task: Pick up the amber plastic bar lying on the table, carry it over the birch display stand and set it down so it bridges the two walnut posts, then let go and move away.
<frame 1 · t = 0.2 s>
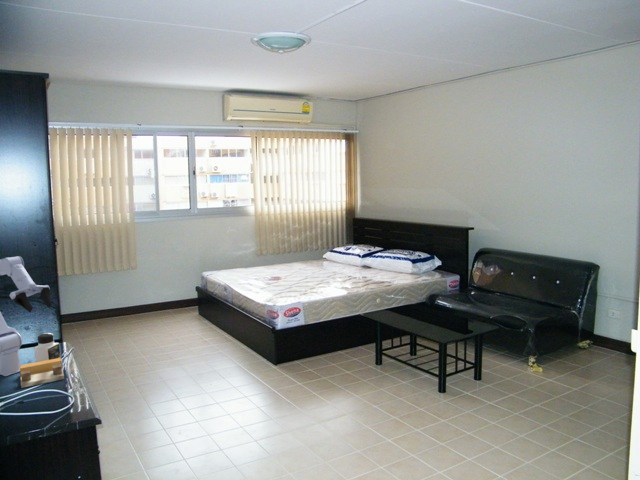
hand: (40, 308, 198), 31 cm above the table, tool tilted 45°, fingers open, 7 cm apart
display stand: (42, 379, 207), on the table
amber bar: (41, 373, 214), on the table
medicine bottle: (48, 361, 228), on the table
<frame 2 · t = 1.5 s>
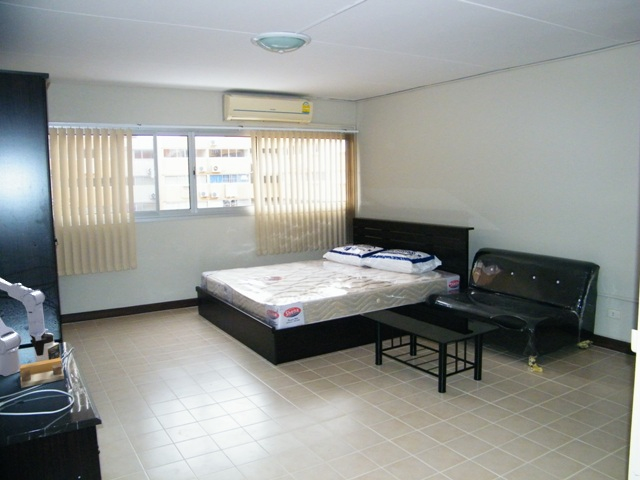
hand: (39, 352, 213), 9 cm above the table, tool pointing down, fingers open, 7 cm apart
nothing on the table moved.
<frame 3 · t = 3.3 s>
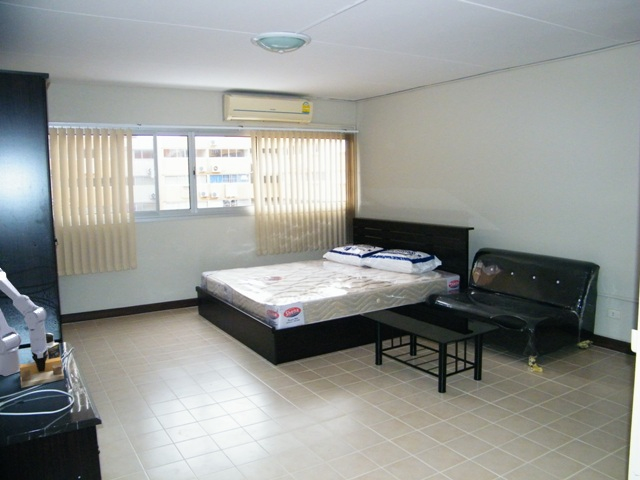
hand: (41, 369, 214), 1 cm above the table, tool pointing down, fingers closed on amber bar, 4 cm apart
amber bar: (41, 372, 214), on the table, touching gripper
everything else where it was.
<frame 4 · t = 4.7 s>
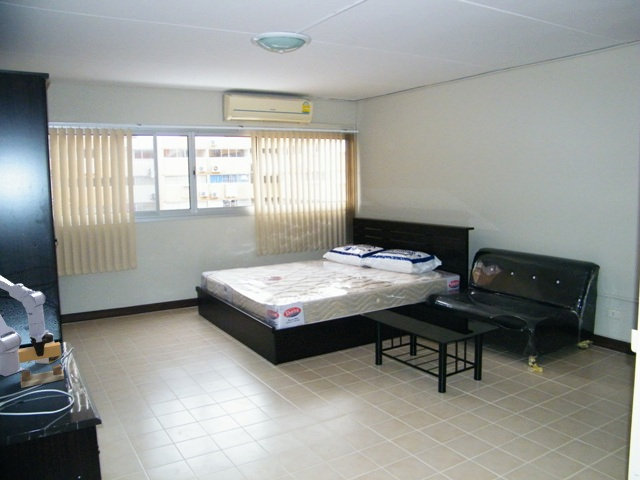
hand: (40, 354, 212), 8 cm above the table, tool pointing down, fingers closed on amber bar, 4 cm apart
amber bar: (40, 357, 212), point 7 cm above the table, touching gripper
everything else where it was.
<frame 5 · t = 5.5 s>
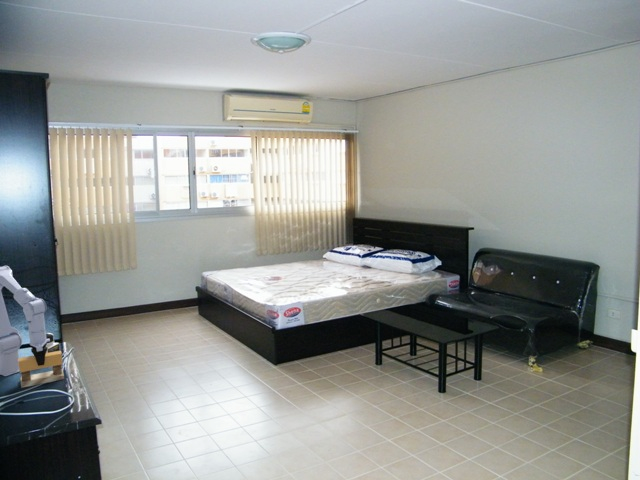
hand: (40, 363, 206), 7 cm above the table, tool pointing down, fingers closed on amber bar, 4 cm apart
amber bar: (41, 366, 206), point 5 cm above the table, touching gripper
everything else where it was.
when the fingers open (7 cm above the table, at t = 6.3 s): amber bar stays where it is, resting on display stand.
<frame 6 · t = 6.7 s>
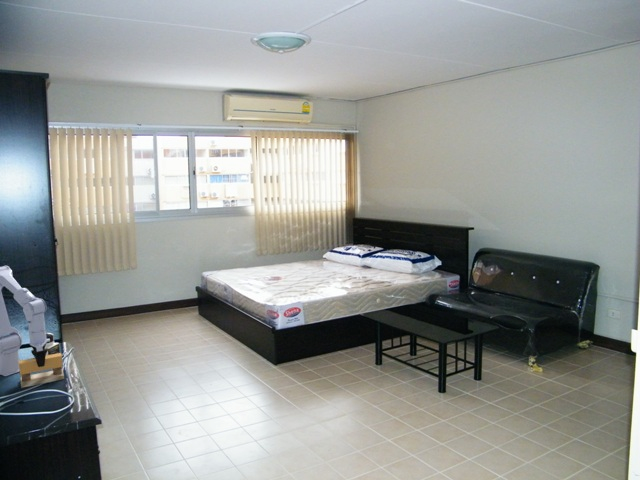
hand: (40, 363, 206), 7 cm above the table, tool pointing down, fingers open, 7 cm apart
amber bar: (41, 369, 206), point 4 cm above the table, touching display stand
everything else where it was.
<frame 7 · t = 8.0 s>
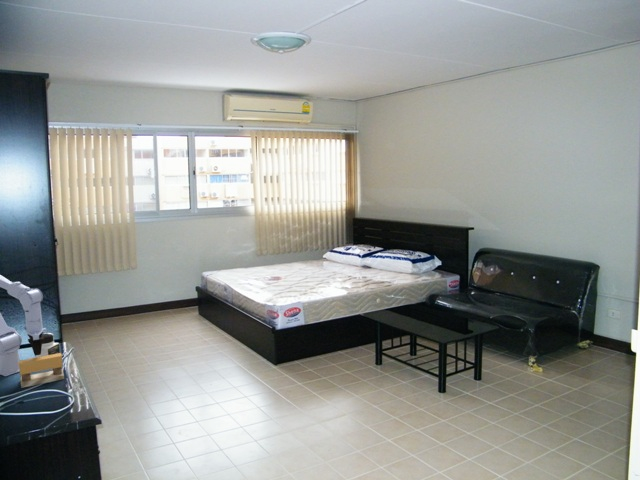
hand: (37, 352, 210), 10 cm above the table, tool pointing down, fingers open, 7 cm apart
nothing on the table moved.
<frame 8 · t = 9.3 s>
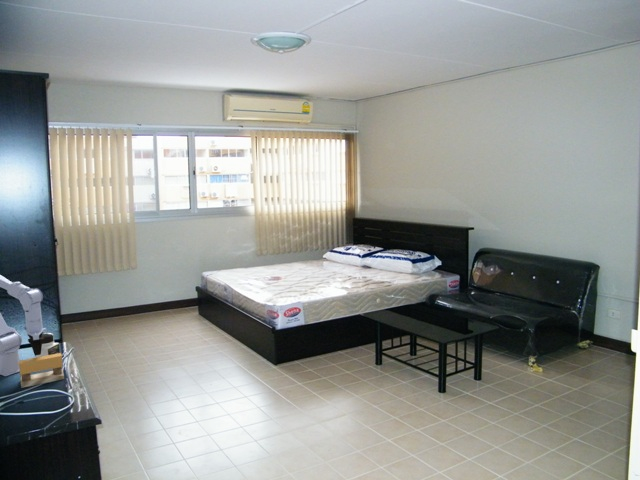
hand: (37, 352, 210), 10 cm above the table, tool pointing down, fingers open, 7 cm apart
nothing on the table moved.
at the end: amber bar 0.1 cm off-centre on the display stand, point 4.5 cm above the display stand's base; amber bar tilted 0°; the gripper is holding nothing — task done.
